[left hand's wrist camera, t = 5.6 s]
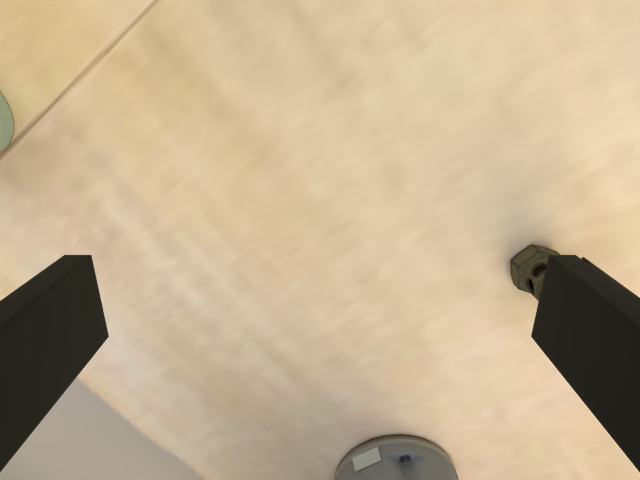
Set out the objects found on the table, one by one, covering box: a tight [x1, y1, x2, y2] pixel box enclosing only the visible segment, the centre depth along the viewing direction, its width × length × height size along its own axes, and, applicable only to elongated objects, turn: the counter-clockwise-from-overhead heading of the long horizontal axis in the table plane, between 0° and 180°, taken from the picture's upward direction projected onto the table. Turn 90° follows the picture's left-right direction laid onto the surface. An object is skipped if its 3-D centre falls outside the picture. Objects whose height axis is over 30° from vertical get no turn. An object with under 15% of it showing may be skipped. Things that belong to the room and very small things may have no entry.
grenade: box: [511, 245, 640, 301], centre depth 36 cm, size 9×6×15 cm, turn 134°
